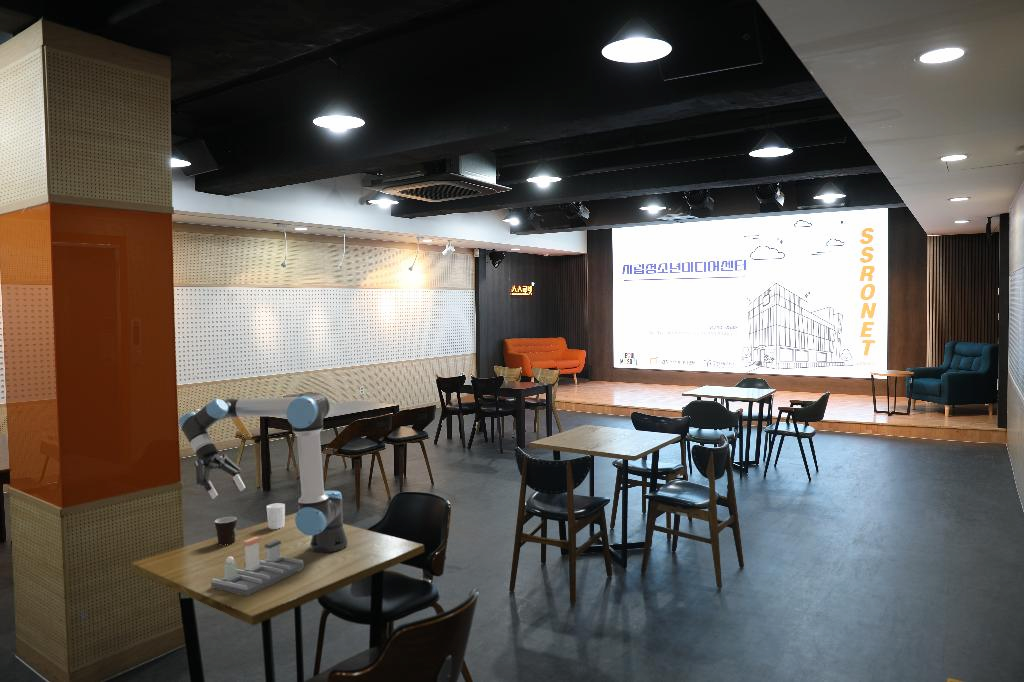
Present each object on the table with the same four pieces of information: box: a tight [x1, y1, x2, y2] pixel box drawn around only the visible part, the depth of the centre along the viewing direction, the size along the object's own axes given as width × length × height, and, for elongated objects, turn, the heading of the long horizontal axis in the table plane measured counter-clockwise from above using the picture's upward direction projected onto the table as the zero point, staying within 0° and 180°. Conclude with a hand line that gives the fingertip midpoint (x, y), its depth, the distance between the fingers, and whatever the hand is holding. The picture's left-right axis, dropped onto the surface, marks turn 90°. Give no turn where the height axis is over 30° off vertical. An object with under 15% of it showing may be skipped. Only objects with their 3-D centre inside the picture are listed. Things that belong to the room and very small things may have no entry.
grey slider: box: [264, 539, 282, 563], centre depth 264 cm, size 4×6×7 cm
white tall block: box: [242, 536, 262, 572], centre depth 255 cm, size 4×6×12 cm
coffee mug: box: [214, 516, 237, 546], centre depth 295 cm, size 12×9×10 cm
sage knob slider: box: [221, 555, 241, 582], centre depth 246 cm, size 4×5×8 cm
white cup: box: [266, 502, 286, 530], centre depth 314 cm, size 8×8×10 cm
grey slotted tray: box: [210, 555, 305, 597], centre depth 254 cm, size 18×27×3 cm, turn 153°
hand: (229, 493), depth 267 cm, fingers open, 13 cm apart
